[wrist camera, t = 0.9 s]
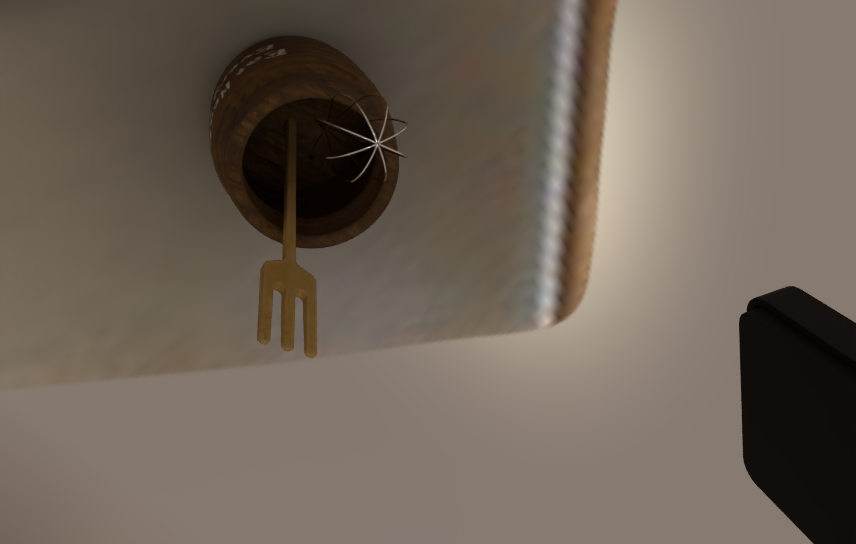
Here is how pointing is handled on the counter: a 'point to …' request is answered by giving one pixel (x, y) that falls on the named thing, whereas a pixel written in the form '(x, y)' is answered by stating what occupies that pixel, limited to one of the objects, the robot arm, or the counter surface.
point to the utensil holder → (301, 160)
